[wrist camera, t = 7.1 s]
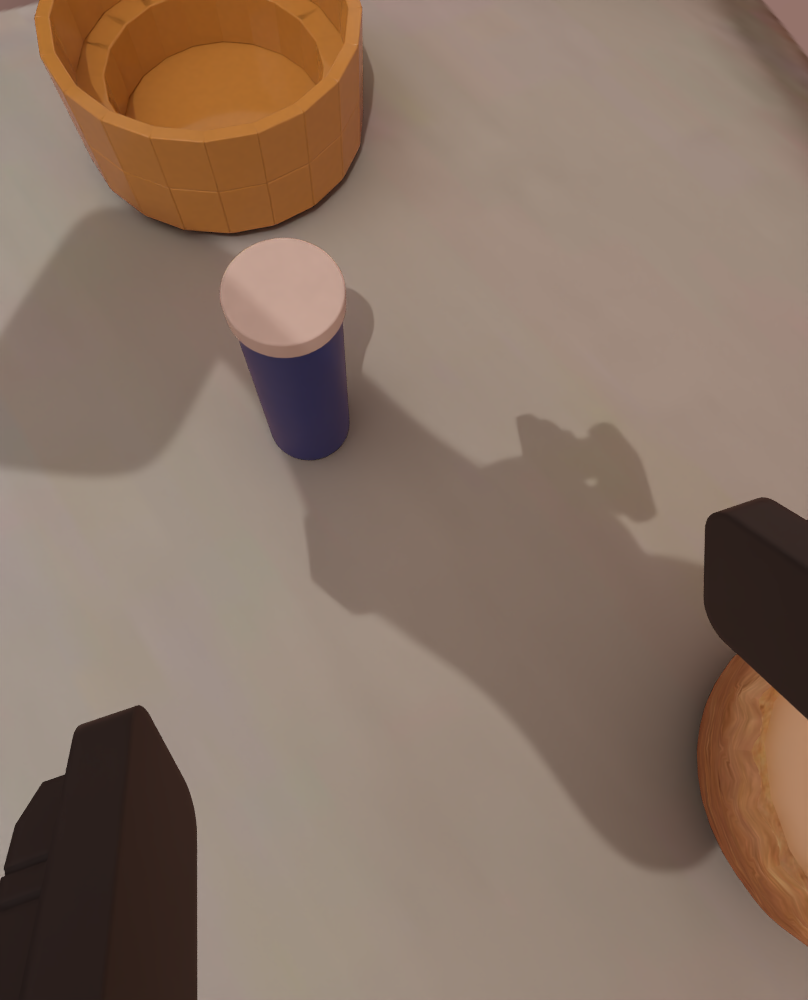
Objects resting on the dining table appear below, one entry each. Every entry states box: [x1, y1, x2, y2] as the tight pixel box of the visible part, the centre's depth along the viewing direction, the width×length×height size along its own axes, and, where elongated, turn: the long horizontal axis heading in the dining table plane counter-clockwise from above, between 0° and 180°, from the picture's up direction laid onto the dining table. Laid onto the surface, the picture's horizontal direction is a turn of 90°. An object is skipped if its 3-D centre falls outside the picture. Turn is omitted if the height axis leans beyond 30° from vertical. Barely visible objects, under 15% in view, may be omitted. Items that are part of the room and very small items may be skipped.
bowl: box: [34, 0, 363, 233], centre depth 31 cm, size 13×13×6 cm
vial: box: [220, 238, 349, 460], centre depth 25 cm, size 4×4×10 cm
